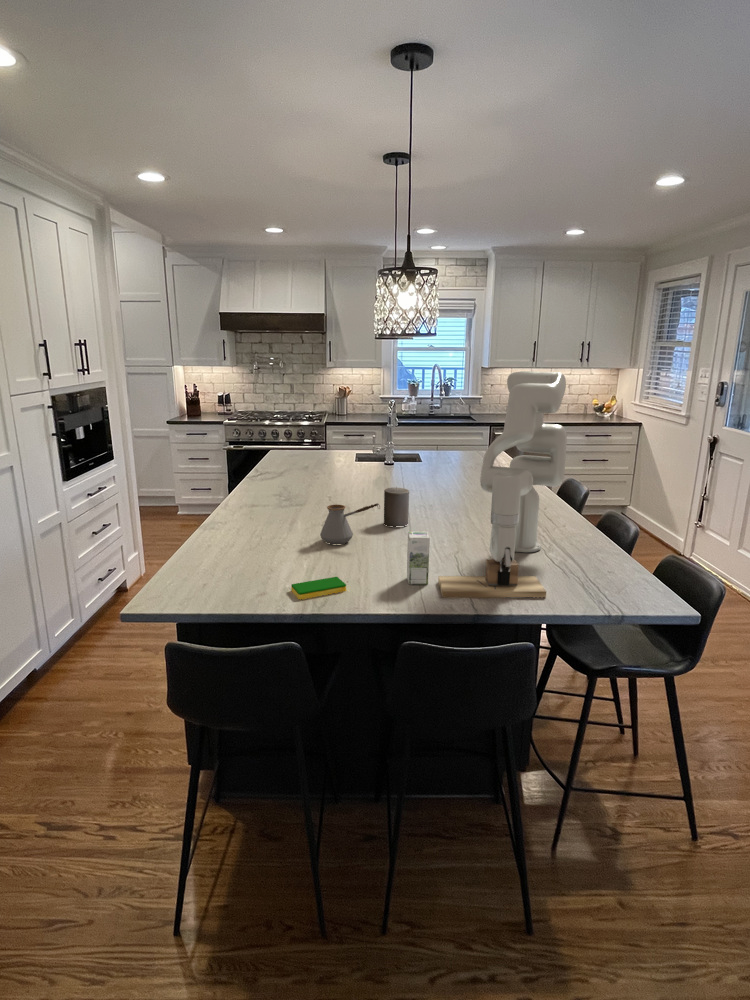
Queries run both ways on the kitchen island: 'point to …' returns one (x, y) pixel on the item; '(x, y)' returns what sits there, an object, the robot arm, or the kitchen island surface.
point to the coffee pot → (339, 524)
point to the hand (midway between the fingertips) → (501, 580)
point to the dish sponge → (318, 587)
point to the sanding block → (493, 569)
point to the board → (488, 587)
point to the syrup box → (418, 558)
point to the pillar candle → (396, 506)
